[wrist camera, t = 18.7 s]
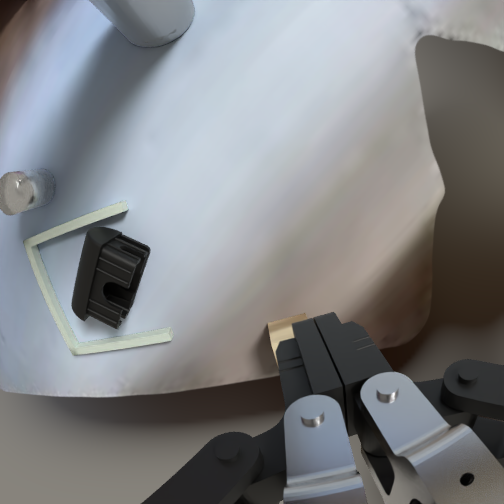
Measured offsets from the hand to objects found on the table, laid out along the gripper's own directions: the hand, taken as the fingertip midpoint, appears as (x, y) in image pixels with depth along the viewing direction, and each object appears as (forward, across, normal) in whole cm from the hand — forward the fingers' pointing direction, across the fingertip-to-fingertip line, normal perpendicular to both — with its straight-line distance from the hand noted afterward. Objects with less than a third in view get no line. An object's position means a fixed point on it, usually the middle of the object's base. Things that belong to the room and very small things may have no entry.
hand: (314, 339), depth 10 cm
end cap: (+25, +19, +2) cm, 32 cm away
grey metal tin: (+25, +27, -12) cm, 39 cm away
